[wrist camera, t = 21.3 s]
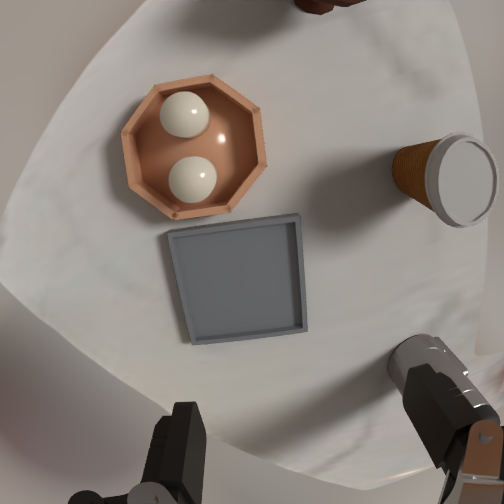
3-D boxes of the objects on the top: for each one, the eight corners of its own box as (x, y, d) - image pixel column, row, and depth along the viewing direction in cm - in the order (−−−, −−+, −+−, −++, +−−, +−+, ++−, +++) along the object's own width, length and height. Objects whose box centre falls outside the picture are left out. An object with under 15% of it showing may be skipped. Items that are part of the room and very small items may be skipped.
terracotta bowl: (253, 76, 32) (255, 68, 29) (269, 202, 36) (272, 207, 33) (126, 98, 32) (116, 94, 29) (144, 219, 36) (135, 226, 33)
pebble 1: (208, 97, 32) (203, 87, 27) (213, 135, 33) (208, 132, 28) (169, 104, 32) (157, 96, 27) (174, 141, 33) (162, 140, 28)
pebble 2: (215, 153, 34) (211, 153, 29) (221, 192, 35) (217, 199, 30) (176, 159, 34) (165, 160, 29) (182, 197, 35) (172, 206, 30)
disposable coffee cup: (379, 207, 37) (430, 232, 26) (379, 130, 34) (434, 126, 23) (440, 207, 37) (498, 230, 26) (441, 136, 34) (503, 138, 23)
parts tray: (297, 213, 37) (300, 216, 35) (305, 325, 42) (307, 331, 40) (169, 229, 37) (166, 233, 35) (193, 338, 42) (192, 345, 40)
